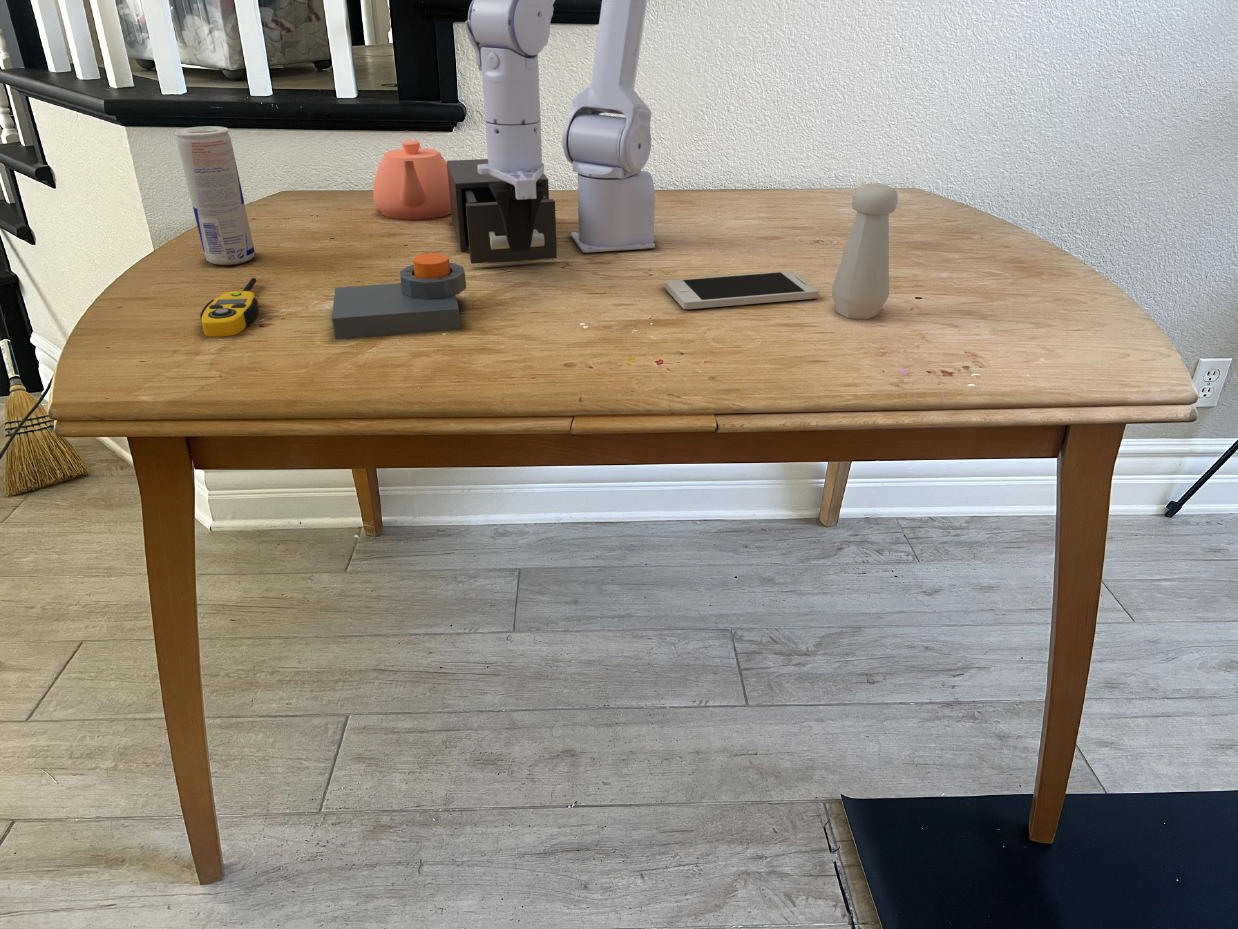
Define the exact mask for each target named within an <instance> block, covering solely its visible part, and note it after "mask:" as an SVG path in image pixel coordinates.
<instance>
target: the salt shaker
mask: <svg viewBox="0 0 1238 929" xmlns="http://www.w3.org/2000/svg"><path fill="white" fill-rule="evenodd" d="M898 197H899V196H898V192H897V190H896V189H895V188H894V187H892V186H890V185H886V184H882V183H865V184H861V185H859V186H857V187H856V188H855V189H854V191H853V195H852V200H851V206H852V209H853V210H854V211H856V215H855V218H854V220H853V224H852V226H851V230H850V234H849V236H848V240H847V243H846V246H845V247H844V251H843V254H842V257H841V259H840V263H839V265H838V268H837V271H836V274H835V277H834V280H833V283H832V286H831V296H832V300H833V304H834V307H835V310H836V313H837V314H839V315H841V316H843V317H845V318H847V319H854V320H869V319H871V318H874V317H876V316H878V314H879V313H880V311H881V310H882V309H883V307H884V305H885V304H886V302H887V301H888V299H889V296H890V214H891V213H893V212H895V211H896V209H897V205H898V202H899V201H898V200H899V199H898Z"/></svg>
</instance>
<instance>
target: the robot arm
mask: <svg viewBox="0 0 1238 929" xmlns="http://www.w3.org/2000/svg"><path fill="white" fill-rule="evenodd" d="M555 1H556V0H472V1H471V2H470V5H469V8H468V11H467V12H468V14H467V20H465V21H464V26H465V31H466V35H467V38H468V40H469V42H470V44H471V46H472V48H473V50H474V54H475V61H476V62H475V64H476V66H477V68H478V70H479V71H480V72H481V77H482V93H483V107H484V120H485V134H486V136H485V137H486V149H487V150H486V151H487V159H488V164H479V165H477V170H478V173H479V174H482V175H485V174H489V175H491V176H493V177H495V178H498V179H500V180H503V182H496V183H491V184H489V188H490V189H491V191H492V193H493V195H494V197H495V199H496V201H497V204H498V206H499V209H500V212H501V216H502V220H503V224H504V229H505V233H506V237H507V241H508V244H509V247H510V249H511V251H512V252H519V251H529V250H530V247H531V242H532V236H533V229H534V223H535V218H536V214H537V211H538V208H539V205H540V203H541V201H542V199H543V197H544V194H545V189H544V188H543V187H542V183H541V182H540V180H538V179H539V178H540V177H541V175H542V174H543V173H544V174H545V164H544V163H543V153H542V152H543V149H542V125H541V124H542V123H541V98H540V97H541V96H540V95H541V94H540V72H539V71H540V70H539V68H540V67H539V54H540V53H541V52H542V51H543V49H544V48H545V47H546V46H547V44H548V42H549V38H550V34H551V33H550V32H551V22H552V21H551V20H552V17H553V15H554V3H555ZM647 4H648V0H602V1H601V5H600V6H601V7H600V13H599V21H598V27H597V37H596V44H595V52H594V58H593V66H592V73H591V80H590V83H589V85H587V86H586V87H585V88H584V89H582V90H581V91H580V92H579V93H577V95H575V96H574V97H573V98H572V99H571V104H570V111H569V115H568V118H567V120H566V122H565V123H564V127H563V130H562V136H561V145H562V150H563V154H564V156H565V158H566V160H567V161H568V162H569V163H570V165H572V172H574V173H577V212H578V213H577V214H578V215H577V218H578V222H577V223H578V231H572V232H570V237H571V238H572V240H573V242H575V244H576V245H577V247H578V248H579V250H580V251H581V253H584V254H585V253H587V254H588V253H601V252H602V253H603V252H616V251H618V252H619V251H631V250H633V251H634V250H646V249H648V250H649V249H655V248H656V244H655V242H654V240H655V239H654V238H655V210H656V209H655V208H656V207H655V206H656V194H655V192H656V191H655V183H654V180H653V176H652V174H651V172H649V171H647V170H643V168H644V167H645V165H646V164H647V162H648V161H649V158H650V155H651V151H652V135H651V134H652V133H651V123H652V122H651V119H652V111H651V109H650V108H649V106H648V105H647V104H646V102H645V101H644V100H643V99H642V98H641V97H640V96H639V94H638V93H637V92H636V90H635V85H636V79H637V72H638V66H639V59H640V54H641V45H642V40H643V34H644V33H643V32H644V26H645V19H646V13H647ZM605 114H615V115H616V116H615V115H605ZM617 115H621V116H617ZM622 115H623V116H624V117H623V116H622Z"/></svg>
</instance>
